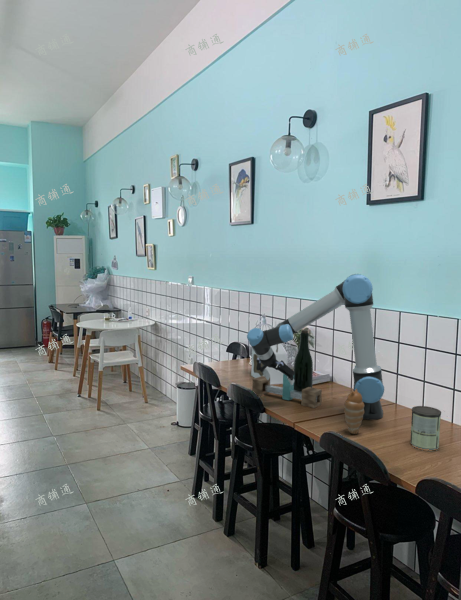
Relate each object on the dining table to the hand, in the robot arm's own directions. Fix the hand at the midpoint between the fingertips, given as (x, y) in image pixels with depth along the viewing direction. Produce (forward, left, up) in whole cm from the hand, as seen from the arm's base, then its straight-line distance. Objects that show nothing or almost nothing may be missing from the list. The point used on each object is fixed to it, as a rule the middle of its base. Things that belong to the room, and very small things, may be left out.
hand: (280, 380), depth 227 cm
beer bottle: (0, -24, -11) cm, 26 cm away
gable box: (+27, -33, -11) cm, 44 cm away
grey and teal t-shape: (-3, -6, -10) cm, 12 cm away
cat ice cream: (-45, +17, -11) cm, 49 cm away
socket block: (+15, -6, -11) cm, 19 cm away
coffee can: (-71, +11, -11) cm, 73 cm away
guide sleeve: (-14, -6, -11) cm, 19 cm away
